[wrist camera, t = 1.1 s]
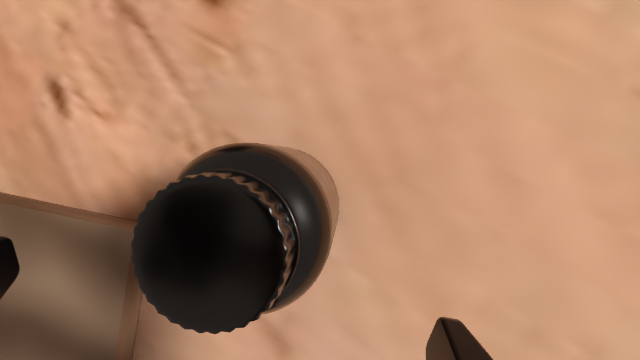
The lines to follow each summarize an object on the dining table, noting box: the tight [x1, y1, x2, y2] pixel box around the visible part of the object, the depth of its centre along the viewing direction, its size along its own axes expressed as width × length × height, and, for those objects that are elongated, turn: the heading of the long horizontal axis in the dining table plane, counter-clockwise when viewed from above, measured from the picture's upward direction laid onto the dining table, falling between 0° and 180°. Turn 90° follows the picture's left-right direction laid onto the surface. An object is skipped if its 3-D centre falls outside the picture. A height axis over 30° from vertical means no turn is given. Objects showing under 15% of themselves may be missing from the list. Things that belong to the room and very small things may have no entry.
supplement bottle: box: [131, 143, 339, 334], centre depth 17 cm, size 7×7×12 cm
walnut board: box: [0, 192, 142, 360], centre depth 24 cm, size 16×16×2 cm
